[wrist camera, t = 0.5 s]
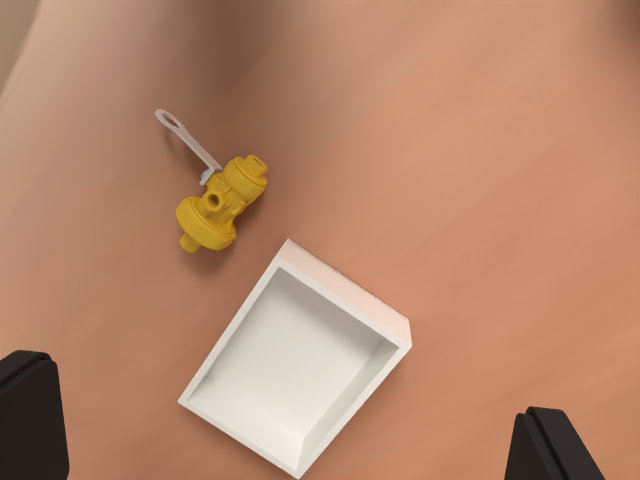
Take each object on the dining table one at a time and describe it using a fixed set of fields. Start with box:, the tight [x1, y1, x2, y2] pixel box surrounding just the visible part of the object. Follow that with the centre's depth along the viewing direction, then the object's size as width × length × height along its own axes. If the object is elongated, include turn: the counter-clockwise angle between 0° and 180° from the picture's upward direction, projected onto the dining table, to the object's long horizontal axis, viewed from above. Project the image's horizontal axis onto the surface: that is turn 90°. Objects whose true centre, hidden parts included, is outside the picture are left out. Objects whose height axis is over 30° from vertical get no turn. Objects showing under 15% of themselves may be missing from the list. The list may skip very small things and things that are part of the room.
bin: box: [177, 239, 412, 480], centre depth 43 cm, size 13×17×5 cm
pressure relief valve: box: [155, 109, 268, 253], centre depth 40 cm, size 6×12×10 cm
